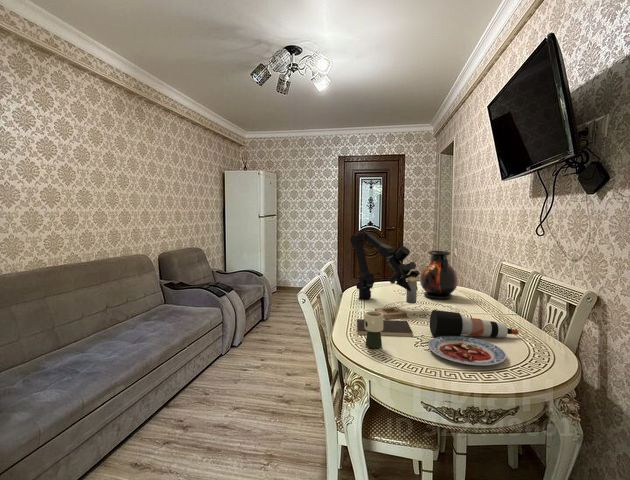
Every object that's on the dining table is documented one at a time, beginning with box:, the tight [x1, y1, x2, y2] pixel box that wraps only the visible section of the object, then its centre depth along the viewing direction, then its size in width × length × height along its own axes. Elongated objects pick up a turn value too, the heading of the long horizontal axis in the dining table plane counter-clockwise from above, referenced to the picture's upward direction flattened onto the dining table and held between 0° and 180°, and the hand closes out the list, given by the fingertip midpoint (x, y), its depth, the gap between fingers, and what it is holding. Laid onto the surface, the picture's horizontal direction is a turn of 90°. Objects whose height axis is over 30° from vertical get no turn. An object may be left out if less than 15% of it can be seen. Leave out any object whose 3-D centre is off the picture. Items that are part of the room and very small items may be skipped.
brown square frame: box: [374, 306, 408, 320], centre depth 169 cm, size 12×12×2 cm
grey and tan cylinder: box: [405, 277, 418, 304], centre depth 173 cm, size 5×5×13 cm
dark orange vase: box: [419, 250, 459, 301], centre depth 203 cm, size 22×22×28 cm
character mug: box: [364, 310, 384, 349], centre depth 128 cm, size 11×7×13 cm, turn 168°
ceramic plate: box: [428, 335, 507, 366], centre depth 122 cm, size 26×26×3 cm
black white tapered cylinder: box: [429, 309, 519, 339], centre depth 138 cm, size 10×34×10 cm, turn 83°
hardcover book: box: [356, 318, 414, 337], centre depth 148 cm, size 16×23×2 cm
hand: (413, 290), depth 172 cm, fingers closed on grey and tan cylinder, 5 cm apart
